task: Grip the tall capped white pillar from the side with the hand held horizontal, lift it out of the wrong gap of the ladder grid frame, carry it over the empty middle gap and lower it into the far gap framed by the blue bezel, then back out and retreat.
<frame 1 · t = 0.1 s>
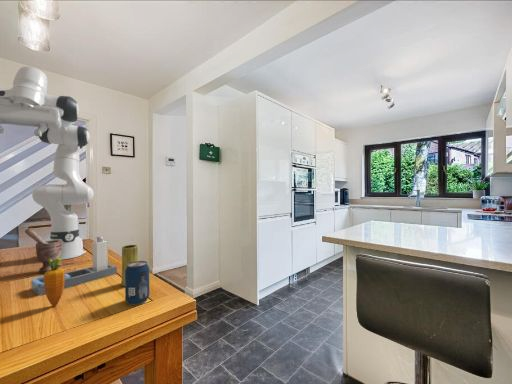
hand: (18, 133, 76), 54 cm above the table, tool tilted 30°, fingers open, 8 cm apart
carrot: (54, 306, 72), on the table
soda can: (137, 301, 75), on the table
ladder grid frame: (77, 280, 92), on the table
vase: (130, 284, 89), on the table
mortar and pestle: (44, 272, 102), on the table
capped white pillar: (100, 274, 98), resting in ladder grid frame
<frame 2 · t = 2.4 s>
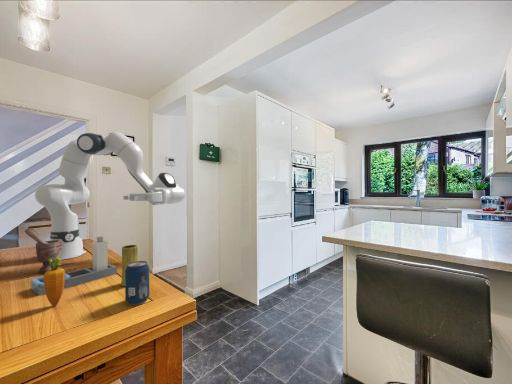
hand: (128, 197, 108), 32 cm above the table, tool horizontal, fingers open, 8 cm apart
nothing on the table moved.
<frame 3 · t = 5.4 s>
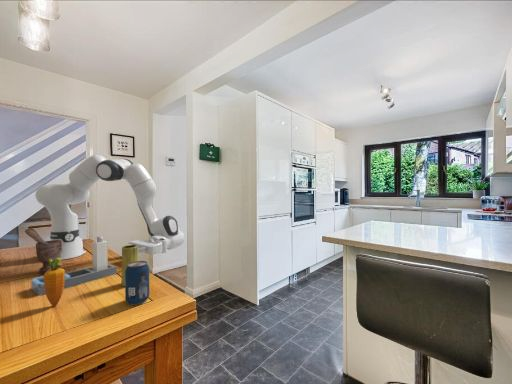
hand: (129, 249, 108), 8 cm above the table, tool horizontal, fingers open, 8 cm apart
nothing on the table moved.
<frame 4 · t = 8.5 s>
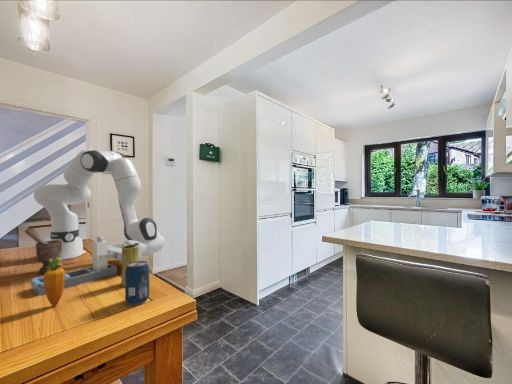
hand: (97, 256, 97), 8 cm above the table, tool horizontal, fingers closed on capped white pillar, 4 cm apart
capped white pillar: (100, 274, 98), resting in ladder grid frame, touching gripper
everything else where it was.
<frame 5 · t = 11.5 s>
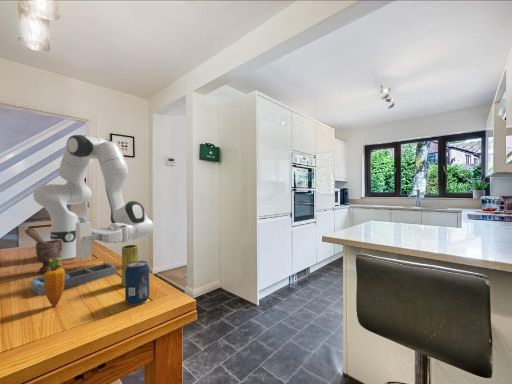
hand: (81, 237, 93), 17 cm above the table, tool horizontal, fingers closed on capped white pillar, 4 cm apart
capped white pillar: (84, 257, 93), point 9 cm above the table, touching gripper
everything else where it was.
when the fingers open (9 cm above the table, at t = 14.8 s): capped white pillar drops 1 cm, resting in ladder grid frame.
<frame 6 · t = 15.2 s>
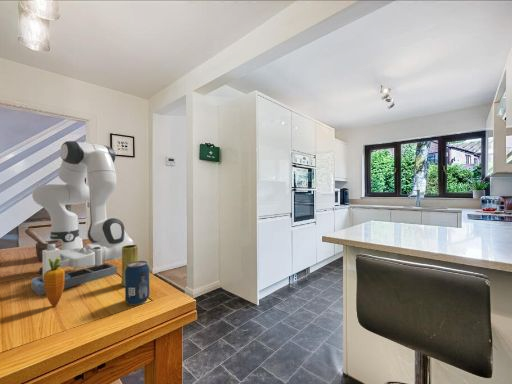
hand: (48, 262, 84), 10 cm above the table, tool horizontal, fingers open, 8 cm apart
capped white pillar: (51, 288, 85), resting in ladder grid frame
everything else where it was.
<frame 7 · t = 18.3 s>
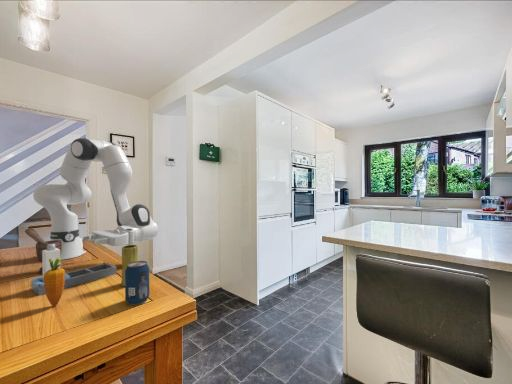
hand: (88, 240, 95), 15 cm above the table, tool horizontal, fingers open, 8 cm apart
nothing on the table moved.
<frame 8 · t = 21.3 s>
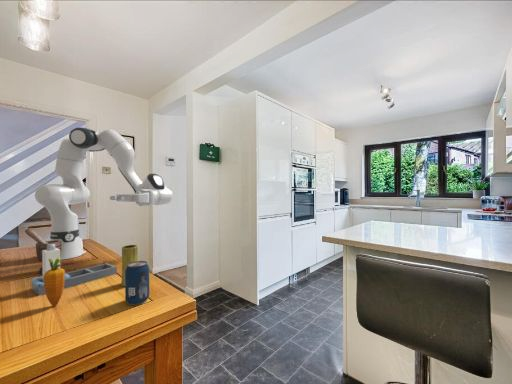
hand: (115, 198, 109), 32 cm above the table, tool horizontal, fingers open, 8 cm apart
nothing on the table moved.
at the end: capped white pillar 0.0 cm from the target spot on the ladder grid frame, point 0.0 cm above the ladder grid frame's base; capped white pillar tilted 0°; the gripper is holding nothing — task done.
